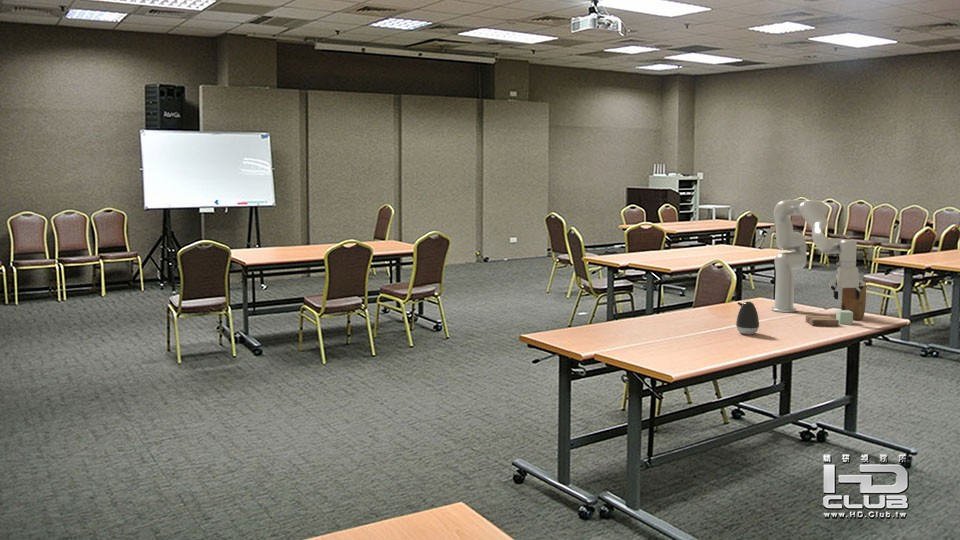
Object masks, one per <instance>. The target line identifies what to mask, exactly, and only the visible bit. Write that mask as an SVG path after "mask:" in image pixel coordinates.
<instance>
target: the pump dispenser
mask: <svg viewBox="0 0 960 540" xmlns="http://www.w3.org/2000/svg"><path fill="white" fill-rule="evenodd" d="M737 305H739V306H740V308H739V310H738V313H737V317H736V322H735V326H736V328H737V331H738V332H739V333H740V334H742V335H747V336H748V335H749V336H750V335H754V334H756V333H757V332H758V330H759V328H760V321H759V320H760V318H759V314H758V311H757V308H756V306H755V304H754V303H753V302H751V301H745V302H743V303H742V302H740V301H737Z"/></svg>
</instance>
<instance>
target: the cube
mask: <svg viewBox="0 0 960 540" xmlns="http://www.w3.org/2000/svg"><path fill="white" fill-rule="evenodd" d="M835 311H836V312H835V313H836V314H835V319H837V320H839V325H853V324H854V323H853V321H854V320H853V312H851V311H849V310H841V309H839V310H838V309H837V310H835Z"/></svg>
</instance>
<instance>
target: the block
mask: <svg viewBox="0 0 960 540" xmlns="http://www.w3.org/2000/svg"><path fill="white" fill-rule="evenodd" d="M862 281H863V282H865V285H864V287H863V288H862V289H861V291H859V298H858V299H855V291H856V289H855V288H842V290H841V307H840V310H849V311H851V312H853V321H861V320H863V319H864V317H865V316H864V315H865V312H866V301H867V282H866V281H865V280H862ZM859 286H861V283H860V282H859Z"/></svg>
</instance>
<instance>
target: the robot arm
mask: <svg viewBox="0 0 960 540" xmlns="http://www.w3.org/2000/svg"><path fill="white" fill-rule="evenodd" d="M826 212H827V206H826V203H825V202H824V201H822V200H816V199H815V200H812V199H785V200H784V199H783V200H781V201H779V202H778V203H776V205H775V207H774V209H773V219H774V223H775V240H776V241H775V242H776V246H777V248H778V249H779V250H783V251H789V252H781V253H778V254H777V255H776V256H775V257H774V261H773V262H774V269H775V287H774V288H775V291H774V306H771V311H773V312H779V313H796V312H797V308H796V307H794V304H795V303H794V302H795V301H794V300H795V298H794V297H795V280H796V279H795V274H794V272H793V271H794V270H795V271H796V270H802V269H803V268H805V266H806V265H807V258H808V257H807V243H806V242H807V241H806V237H805V235H804V234H803V233H802V232H800V231H794V230H793V229H794V227H793V222H792V220H791V218H790V217H792V216H802V218H803V220H805V222H806V223H807V224H808V226H809V227H810V229H811V239H812V242H813V244H814V245H815V246H816V247H817V249H818V250H819V252H821V253H822V254H825V255H831V254H833V255H834V254H839V256H838V257H839V260H838V262H836V263H835V264H836V266H838V267H837V269H836V274H835V278H833V279H832V280H830V281H828V282H827V283H828V285H829V288H831V290H832V291H833V298H834V299H835V300H839V289H841V288H842V289H843V288H855V289H856V291H855V299H858V298H859V291H861V289H862V288H863V287H864V285H865V282H866V281H865V282H863V281H864V280H861V279H860V275H859V274H860V273H859V268H858V267H857V248H858V247H857V244H858V243H857V240H855V239H845V238H840V237H839V238H828V237H827V236H826V235H825V234H824V232H823V230H824V229H825V227H827V225H828V222H829V221H828V220H827V218H826V217H825V216H824V215H825V214H826ZM859 282H860V283H861V286H859ZM833 284H834V285H835V286H834V285H833Z"/></svg>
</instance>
